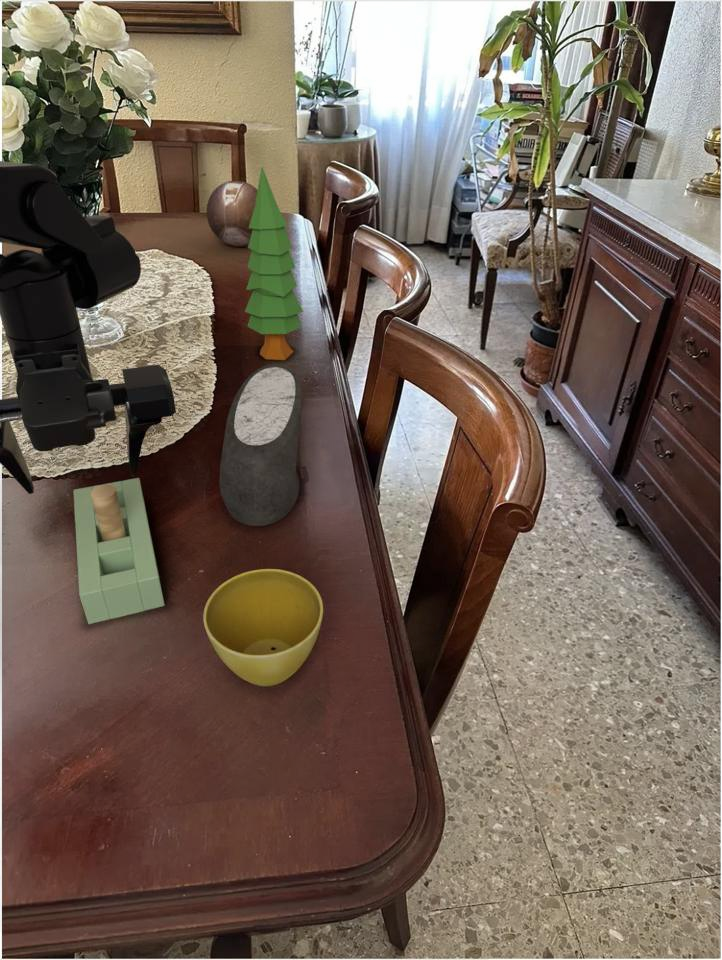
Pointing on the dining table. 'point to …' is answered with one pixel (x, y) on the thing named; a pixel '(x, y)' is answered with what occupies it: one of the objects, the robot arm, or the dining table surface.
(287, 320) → the decorative tree
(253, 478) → the grey stone cylinder
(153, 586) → the peg board
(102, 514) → the peg
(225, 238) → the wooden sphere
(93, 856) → the dining table surface
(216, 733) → the dining table surface
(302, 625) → the flower pot
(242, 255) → the dining table surface
